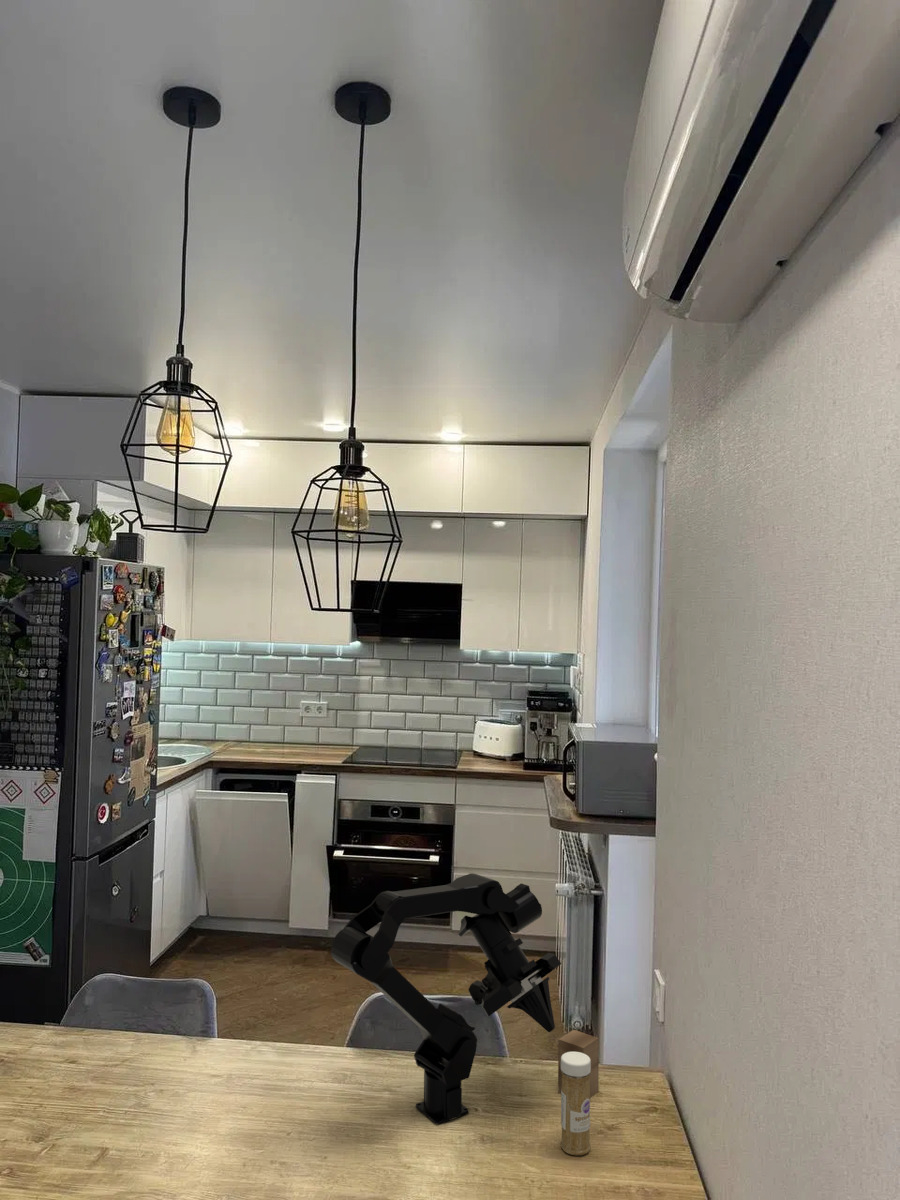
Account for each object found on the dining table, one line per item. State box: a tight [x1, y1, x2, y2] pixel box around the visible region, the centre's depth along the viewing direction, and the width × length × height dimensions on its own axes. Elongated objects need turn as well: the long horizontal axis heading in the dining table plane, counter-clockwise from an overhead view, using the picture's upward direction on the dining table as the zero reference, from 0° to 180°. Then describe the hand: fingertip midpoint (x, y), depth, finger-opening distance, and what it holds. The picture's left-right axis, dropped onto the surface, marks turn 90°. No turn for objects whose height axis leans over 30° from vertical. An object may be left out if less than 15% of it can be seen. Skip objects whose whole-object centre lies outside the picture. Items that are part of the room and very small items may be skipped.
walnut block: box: [557, 1029, 600, 1099], centre depth 146 cm, size 5×5×9 cm
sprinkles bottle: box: [560, 1052, 591, 1156], centre depth 129 cm, size 5×5×14 cm
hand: (552, 1030), depth 139 cm, fingers closed
